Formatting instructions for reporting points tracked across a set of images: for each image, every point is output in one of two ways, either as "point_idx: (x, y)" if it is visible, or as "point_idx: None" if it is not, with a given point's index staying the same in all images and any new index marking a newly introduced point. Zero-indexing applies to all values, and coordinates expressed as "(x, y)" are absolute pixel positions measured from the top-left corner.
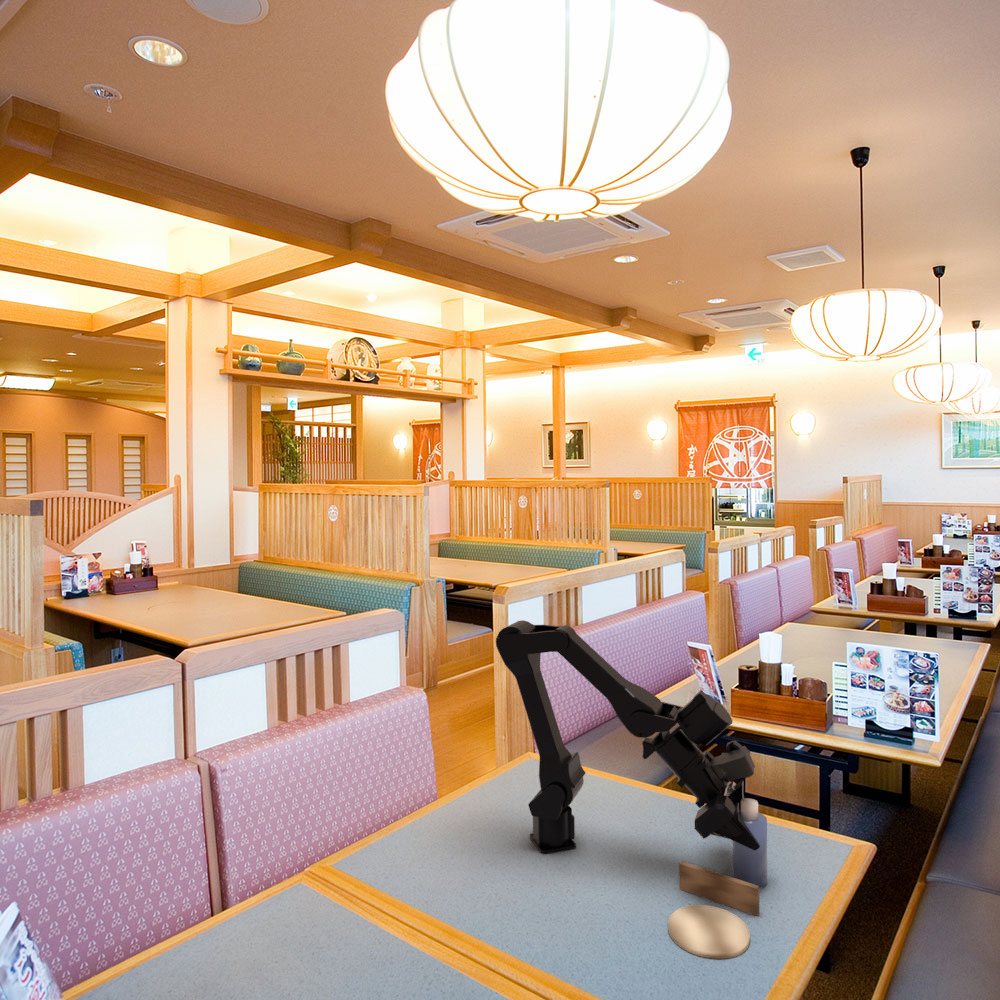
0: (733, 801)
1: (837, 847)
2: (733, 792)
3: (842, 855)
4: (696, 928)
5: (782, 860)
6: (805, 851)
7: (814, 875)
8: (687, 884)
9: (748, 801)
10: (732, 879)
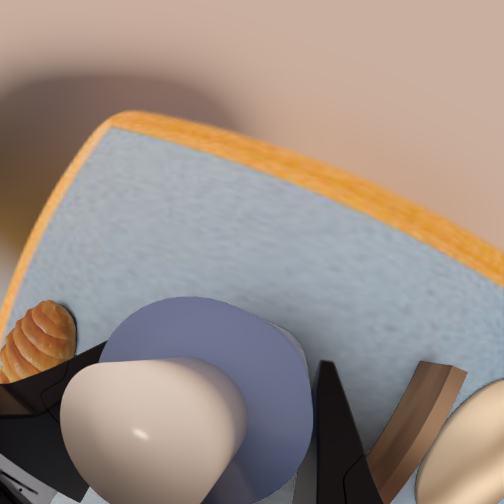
0: (52, 452)
1: (111, 148)
2: (10, 458)
3: (137, 140)
4: (491, 477)
5: (151, 261)
6: (117, 204)
7: (215, 197)
8: None
9: (116, 453)
10: (423, 446)
